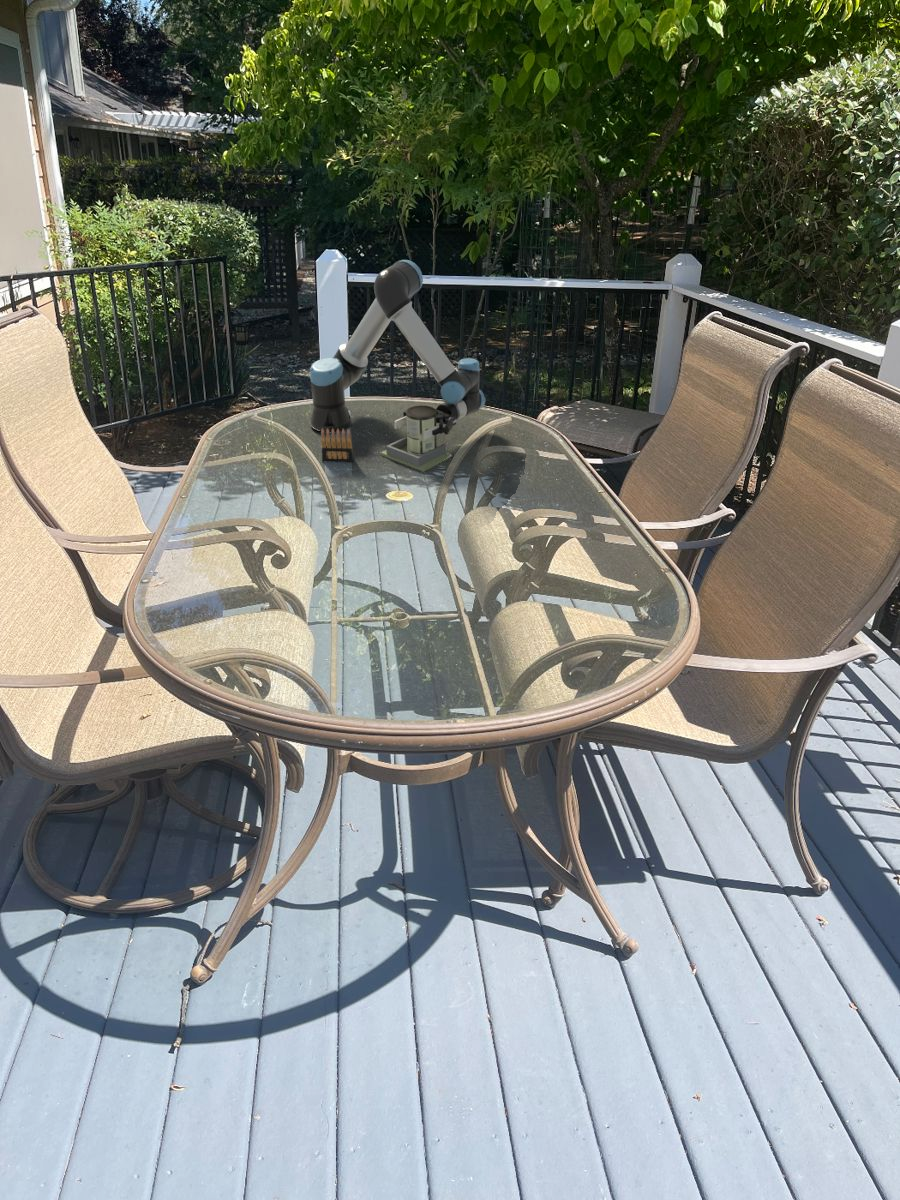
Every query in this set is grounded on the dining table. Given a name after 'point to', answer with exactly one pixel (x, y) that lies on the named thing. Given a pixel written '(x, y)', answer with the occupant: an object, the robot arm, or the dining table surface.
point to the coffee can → (420, 429)
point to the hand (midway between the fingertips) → (409, 430)
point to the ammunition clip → (337, 447)
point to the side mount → (422, 462)
